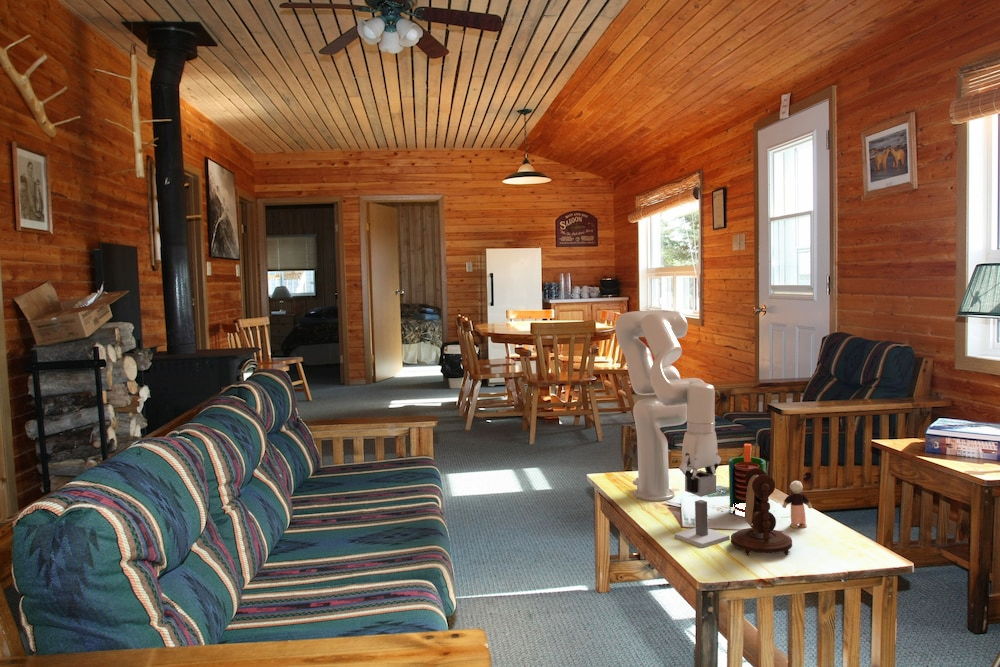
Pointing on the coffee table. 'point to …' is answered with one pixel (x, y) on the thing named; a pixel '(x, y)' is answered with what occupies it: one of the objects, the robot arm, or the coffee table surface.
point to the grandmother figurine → (797, 505)
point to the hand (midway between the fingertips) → (700, 488)
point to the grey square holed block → (704, 483)
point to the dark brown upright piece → (760, 518)
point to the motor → (742, 475)
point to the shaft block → (701, 529)
